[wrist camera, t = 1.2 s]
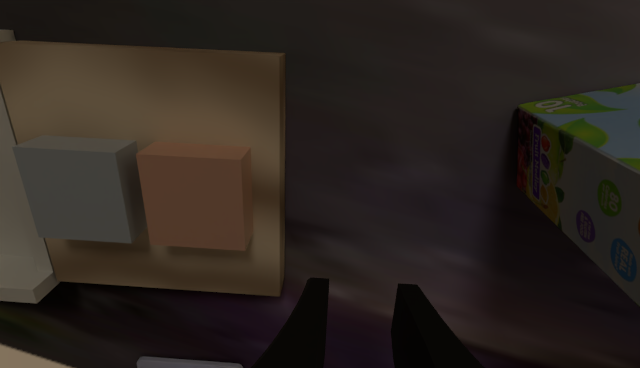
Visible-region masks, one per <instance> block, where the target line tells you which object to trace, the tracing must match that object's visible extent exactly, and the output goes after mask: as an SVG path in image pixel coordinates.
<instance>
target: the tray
mask: <svg viewBox="0 0 640 368" xmlns="http://www.w3.org/2000/svg"><path fill="white" fill-rule="evenodd" d="M5 41H16V39H15V36H14V32H13V30H0V42H5ZM16 145H18V143H17V139H16V136H15V132H14V129H13V125H12V122H11V118H10V115H9V111H8V108H7V105H6V101H5V98H4V94H3V91H2V87H1V84H0V301H11V302H25V303H38V302H39V301H40V300H41V299H42V298H43V297H44V296H46V295H47V294H48V293H49V292H50V291H51V290H52V289H53V288H54V287H55V286H56V285H58V284H59V283H60V282H61V281H57V278H56V274H55V271H54V267H53V264H52V260H51V257H50V253H49V250H48V247H47V243H46V240H45V238H41V237H39V236H38V233H37V230H36V226H35V223H34V219H33V216H32V213H31V209H30V206H29V203H28V199H27V196H26V192H25V189H24V186H23V182H22V179H21V176H20V172H19V169H18V165H17V162H16V159H15V155H14V152H13V149H12V147H13V146H16Z"/></svg>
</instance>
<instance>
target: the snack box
mask: <svg viewBox="0 0 640 368" xmlns="http://www.w3.org/2000/svg"><path fill="white" fill-rule="evenodd" d="M517 109H518V115H519V124H518V129H519V132H518V167H517V187H518V188H519V189H520V190H521V191H522V192H523V193H524V194H525V195H526V196H527V197H528V198H529V199H530V200H531V201H532V202H533V203H534V204H535V205H536V206H537V207H538V208H539V209H540V210H541V211H542V212H543V213H544V214H545V215H546V216H547V217H548V218H549V219H550V220H551V221H552V222H553V223H554V224H555V225H556V226H557V227H558V228H559V229H560V230H561V231H562V232H563V233H564V234H566V235H567V236H568V237H569V238H570V239H571V240H572V241H573V242H574V243H575V244H576V245H577V246H578V247H579V248H580V249H581V250H582V251H583V252H584V253H585V254H586V255H587V256H588V257H589V258H590V259H591V260H592V261H593V262H594V263H595V264H596V265H597V266H598V267H599V268H600V269H601V270H602V271H603V272H605V273H606V274H607V275H608V276H609V277H610V278H611V279H612V280H613V281H614V282H615V283H616V284H617V285H618V286H619V287H620V288H621V289H622V290H623V291H624V292H625V293H626V294H627V295H628V296H629V297H630V298H631V299H632V300H633V301H634V302H635V303H636V304H637V305H638V306H639V307H640V83H639V84H633V85H628V86H622V87H616V88H611V89H605V90H599V91H593V92H587V93H582V94H576V95H571V96H566V97H560V98H554V99H548V100H542V101H536V102H530V103H525V104H520V105H519V106H518V107H517Z"/></svg>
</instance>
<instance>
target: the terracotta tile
mask: <svg viewBox="0 0 640 368" xmlns="http://www.w3.org/2000/svg"><path fill="white" fill-rule="evenodd" d="M136 159H137V165H138V171H139V177H140V183H141V190H142V196H143V202H144V208H145V214H146V221H147V227H148V233H149V239H150V245H163V246H178V247H193V248H208V249H224V250H239V251H245V250H246V248H247V245H248V243H249V241H250V238H251V236H252V234H253V202H252V173H251V147H242V146H224V145H206V144H189V143H171V142H154V143H152V144H151V145H149V146H147V147H146V148H144V149H143V150H141V151H140V152H138V153H136Z"/></svg>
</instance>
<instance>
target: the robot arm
mask: <svg viewBox="0 0 640 368" xmlns="http://www.w3.org/2000/svg"><path fill="white" fill-rule="evenodd" d="M328 293H329V279H324V278H310V279H308V280H307V283H306V286H305V288H304V291H303V293H302V295H301V297H300V299H299V301H298V303H297V305H296V307H295V308H294V310H293V312H292V313H291V315H290V317H289V318H288V320H287V322H286V323H285V325H284V326H283V328H282V329H281V330H280V332H279V333H278V335H277V336H276V338H275V339H274V340H273V342H272V343H271V344H270V346H269V347H268V348H267V350H266V351H265V352H264V353H263V355H262V356H261V357H260V358H259V359H258V360H257V362H256V363H255V364H254V365H253V366H252V367H251V368H323V364H324V357H325V342H326V325H327V309H328ZM391 337H392V349H393V359H394V365H395V368H484V367H483V366H482V365H481V364H480V362H479V361H478V360H477V359H476V358H475V357H474V356H473V355H472V354H471V353H470V352H469V350H468V349H467V348H466V347H465V346H464V345H463V344H462V343H461V341H460V340H459V339H458V338H457V337H456V335H455V334H454V333H453V332H452V330H451V329H450V328H449V327H448V326H447V324H446V323H445V322H444V321H443V319H442V318H441V317H440V315H439V314H438V313H437V311H436V310H435V309H434V307H433V306H432V305H431V303H430V302H429V300H428V299H427V298H426V296H425V295H424V293H423V292H422V290H421V289H420V288H419V287H418V285H413V284H398V288H397V295H396V301H395V308H394V315H393V321H392V328H391ZM137 368H243V366H242V365H240V364H237V363H225V362H212V361H199V360H186V359H172V358H159V357H146V356H143V357H140V358H139V360H138V361H137Z"/></svg>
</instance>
